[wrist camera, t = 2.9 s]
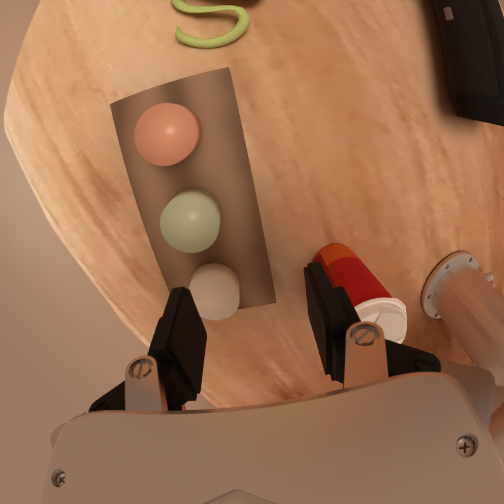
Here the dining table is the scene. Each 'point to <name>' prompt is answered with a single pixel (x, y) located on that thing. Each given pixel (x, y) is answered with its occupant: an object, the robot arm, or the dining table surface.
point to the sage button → (191, 220)
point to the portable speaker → (474, 57)
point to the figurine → (218, 41)
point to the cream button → (215, 291)
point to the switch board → (201, 183)
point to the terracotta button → (167, 134)
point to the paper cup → (364, 291)
